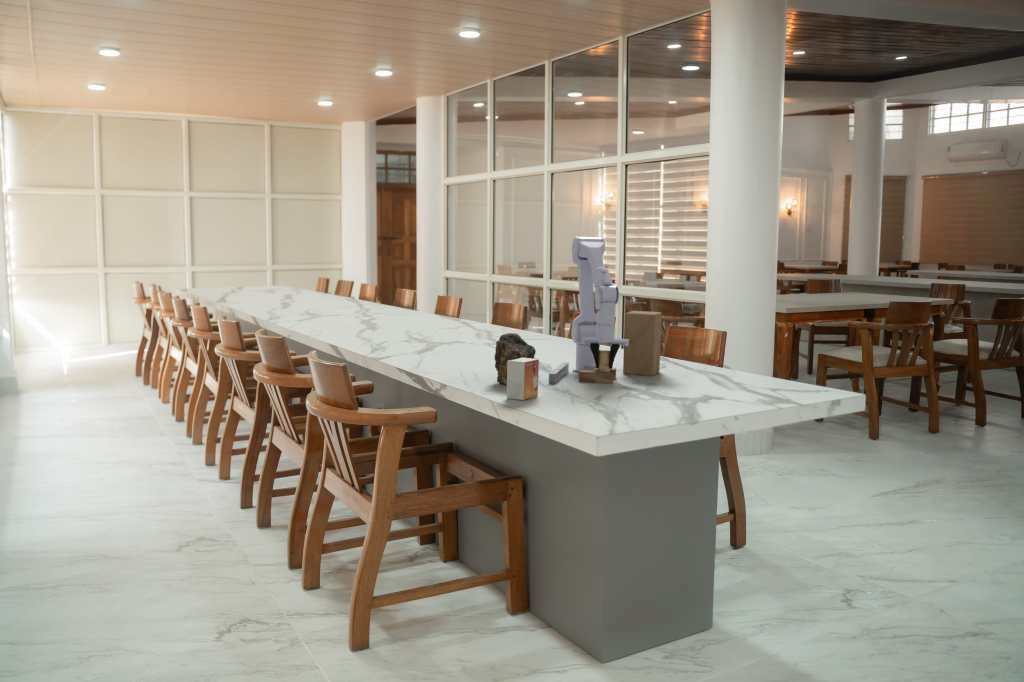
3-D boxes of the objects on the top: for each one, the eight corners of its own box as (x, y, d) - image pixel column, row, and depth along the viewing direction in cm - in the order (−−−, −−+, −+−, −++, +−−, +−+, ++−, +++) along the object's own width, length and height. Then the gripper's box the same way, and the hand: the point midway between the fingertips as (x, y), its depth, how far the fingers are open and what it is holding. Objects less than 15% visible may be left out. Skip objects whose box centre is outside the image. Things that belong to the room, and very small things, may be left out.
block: (584, 375, 272) (584, 366, 272) (615, 377, 270) (616, 367, 270) (578, 381, 261) (579, 371, 260) (611, 383, 259) (611, 373, 258)
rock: (513, 393, 249) (478, 377, 259) (542, 388, 258) (507, 373, 268) (521, 346, 246) (485, 332, 255) (550, 343, 255) (514, 329, 265)
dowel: (598, 378, 267) (599, 349, 266) (610, 378, 266) (611, 350, 265) (597, 380, 264) (598, 351, 263) (608, 380, 263) (609, 351, 262)
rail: (562, 371, 280) (562, 362, 280) (568, 371, 280) (568, 362, 279) (548, 383, 257) (549, 373, 257) (555, 383, 256) (555, 374, 256)
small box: (523, 400, 229) (524, 362, 228) (506, 398, 232) (506, 360, 231) (538, 396, 236) (539, 358, 235) (521, 394, 239) (522, 357, 238)
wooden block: (622, 374, 277) (624, 312, 275) (630, 369, 287) (632, 310, 284) (652, 376, 274) (655, 314, 271) (659, 372, 283) (662, 312, 281)
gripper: (580, 324, 261) (579, 368, 262) (628, 326, 258) (626, 371, 259) (583, 322, 268) (582, 365, 269) (630, 324, 264) (628, 367, 266)
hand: (604, 368), depth 265 cm, fingers closed on dowel, 4 cm apart
